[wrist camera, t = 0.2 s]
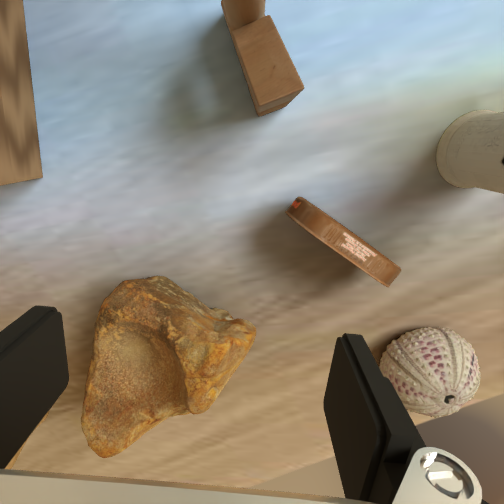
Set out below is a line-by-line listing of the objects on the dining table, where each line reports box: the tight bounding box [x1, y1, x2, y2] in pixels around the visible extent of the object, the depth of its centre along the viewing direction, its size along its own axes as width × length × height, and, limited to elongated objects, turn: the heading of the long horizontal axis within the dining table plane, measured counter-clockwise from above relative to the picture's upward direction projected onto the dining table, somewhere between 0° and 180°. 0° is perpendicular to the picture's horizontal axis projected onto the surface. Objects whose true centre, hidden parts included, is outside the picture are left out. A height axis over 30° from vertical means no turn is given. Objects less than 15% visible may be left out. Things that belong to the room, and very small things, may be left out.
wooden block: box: [221, 0, 304, 116], centre depth 27 cm, size 4×11×18 cm, turn 20°
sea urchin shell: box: [379, 327, 481, 418], centre depth 44 cm, size 13×14×8 cm
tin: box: [285, 197, 401, 287], centre depth 38 cm, size 15×3×8 cm, turn 55°
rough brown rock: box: [81, 276, 256, 458], centre depth 40 cm, size 23×17×15 cm
